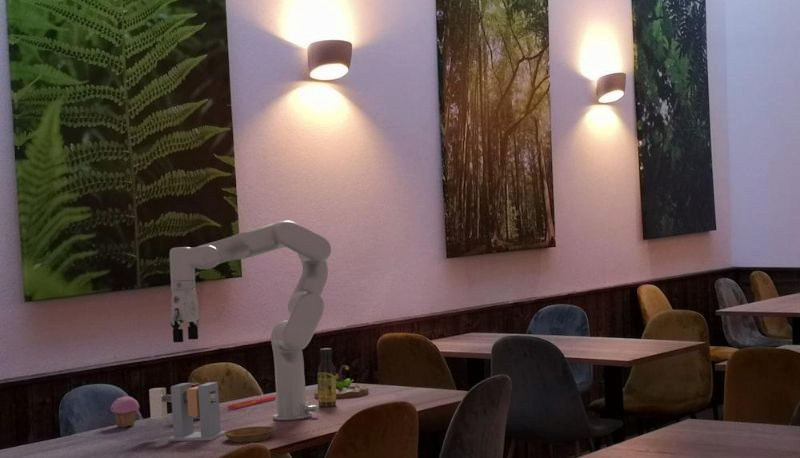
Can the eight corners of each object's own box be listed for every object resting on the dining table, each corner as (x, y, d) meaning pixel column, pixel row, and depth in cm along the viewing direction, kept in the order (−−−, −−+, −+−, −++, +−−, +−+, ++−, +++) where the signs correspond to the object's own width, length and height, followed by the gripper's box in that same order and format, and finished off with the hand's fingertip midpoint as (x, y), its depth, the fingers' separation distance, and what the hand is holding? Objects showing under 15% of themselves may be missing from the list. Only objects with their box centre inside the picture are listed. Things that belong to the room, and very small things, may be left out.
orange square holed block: (209, 411, 330) (208, 385, 330) (197, 415, 322) (195, 389, 323) (200, 411, 331) (199, 385, 331) (188, 416, 323) (186, 389, 323)
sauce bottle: (315, 407, 373) (311, 349, 373) (323, 404, 379) (319, 347, 379) (332, 407, 371) (329, 349, 371) (340, 404, 376) (336, 347, 377)
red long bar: (225, 413, 381) (234, 409, 379) (223, 407, 382) (232, 403, 379) (270, 402, 401) (278, 398, 399) (268, 396, 402) (277, 393, 399)
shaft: (218, 416, 327) (216, 386, 327) (213, 418, 324) (211, 387, 324) (155, 417, 332) (153, 388, 333) (150, 419, 330) (149, 389, 330)
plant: (367, 398, 390) (365, 367, 390) (313, 401, 390) (311, 370, 390) (369, 390, 410) (367, 361, 410) (318, 393, 410) (316, 364, 410)
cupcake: (131, 423, 363) (129, 393, 364) (145, 425, 357) (143, 395, 357) (107, 427, 357) (105, 397, 357) (121, 429, 351) (119, 399, 351)
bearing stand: (225, 434, 330) (222, 381, 330) (211, 440, 320) (208, 386, 320) (184, 434, 334) (181, 382, 334) (168, 440, 324) (165, 387, 324)
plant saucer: (231, 446, 309) (231, 437, 309) (219, 439, 323) (218, 430, 323) (281, 439, 315) (281, 430, 315) (267, 433, 329) (266, 424, 329)
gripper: (180, 287, 332) (183, 343, 332) (206, 284, 348) (209, 337, 348) (158, 288, 334) (161, 343, 334) (185, 285, 351) (188, 338, 350)
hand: (185, 340), depth 341 cm, fingers open, 9 cm apart
